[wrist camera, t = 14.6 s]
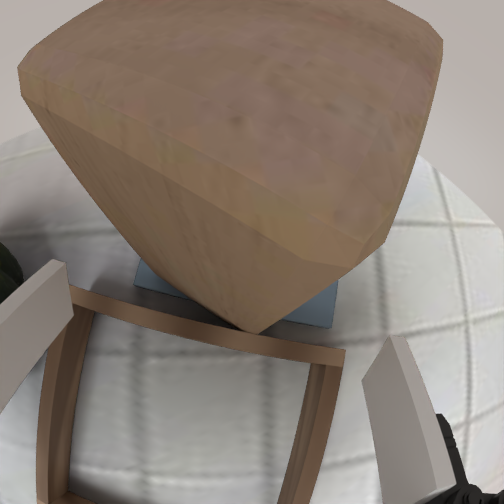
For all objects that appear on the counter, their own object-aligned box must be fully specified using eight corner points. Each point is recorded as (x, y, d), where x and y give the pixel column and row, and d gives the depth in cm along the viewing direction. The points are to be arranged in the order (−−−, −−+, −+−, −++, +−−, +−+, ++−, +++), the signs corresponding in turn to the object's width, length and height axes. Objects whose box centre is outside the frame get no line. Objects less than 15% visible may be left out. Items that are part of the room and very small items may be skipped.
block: (219, 179, 26) (217, -53, 8) (318, 237, 25) (454, 31, 6) (148, 270, 23) (-5, 65, 4) (255, 341, 22) (392, 278, 3)
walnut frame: (57, 494, 16) (37, 508, 12) (86, 293, 23) (64, 283, 19) (274, 553, 16) (280, 576, 12) (327, 350, 23) (345, 349, 19)
